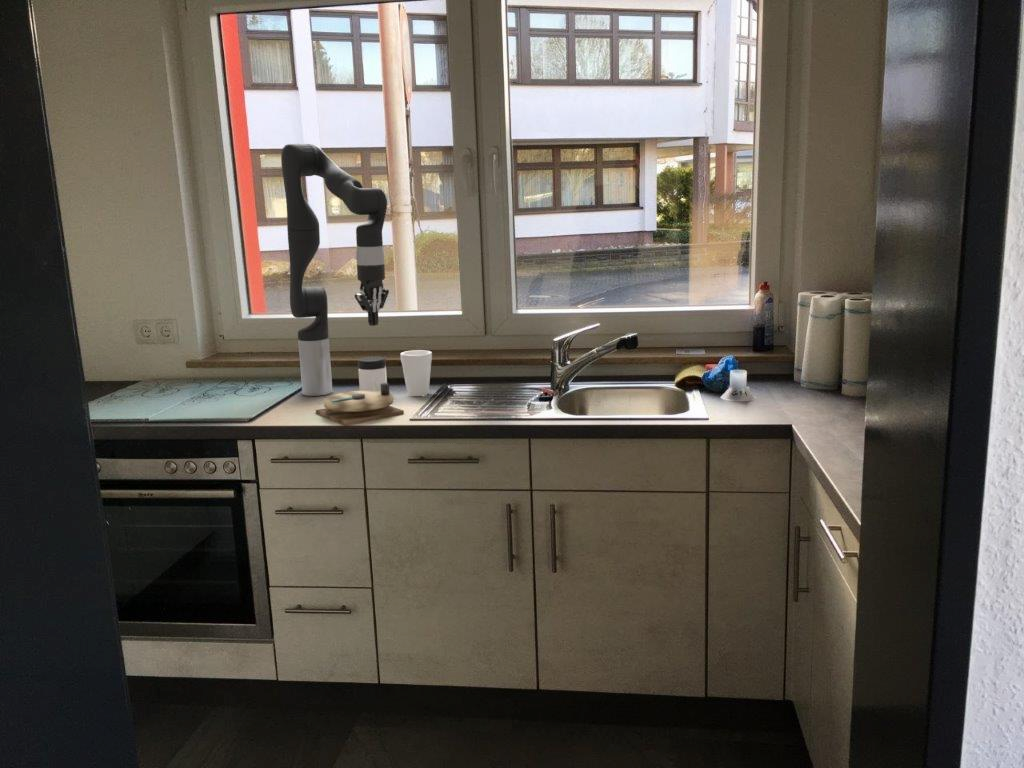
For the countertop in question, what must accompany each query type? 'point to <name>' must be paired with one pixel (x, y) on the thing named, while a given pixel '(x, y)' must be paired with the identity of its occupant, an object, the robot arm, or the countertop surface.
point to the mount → (359, 415)
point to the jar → (372, 373)
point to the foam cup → (416, 371)
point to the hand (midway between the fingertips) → (373, 325)
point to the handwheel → (360, 400)
